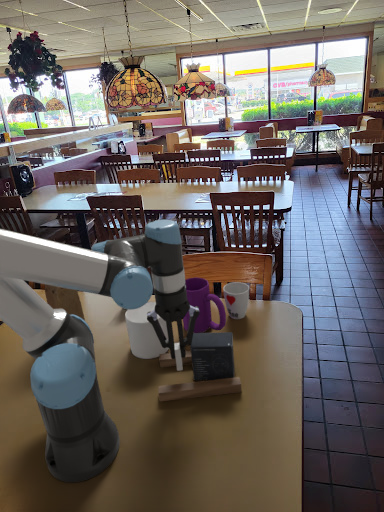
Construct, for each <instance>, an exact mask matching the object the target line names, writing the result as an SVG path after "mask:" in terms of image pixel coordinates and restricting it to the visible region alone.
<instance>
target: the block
mask: <svg viewBox="0 0 384 512" xmlns="http://www.w3.org/2000/svg"><path fill="white" fill-rule="evenodd" d="M44 294H45V295H44V296H45V299H46V303H48V304H49V305H50V306H51V307H52V308H53V309H64V310H65V311H66V312H67V313H68V314H69V315H72V314H73V315H76V316H78V317H80V318H82V319H83V320H84V321H85V322H86V319H85V315H84V310H83V305H82V302H81V298H80V296H79V291H78V290H73V289H68V288H62V287H57V286H52V285H47V284H44Z"/></svg>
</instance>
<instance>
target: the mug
mask: <svg viewBox="0 0 384 512" xmlns="http://www.w3.org/2000/svg"><path fill="white" fill-rule="evenodd" d="M185 285H186V292H187V300H188V302H189V303H190V305H191V306H193V307H195V306H198V307H199V313H200V314H199V316H198V317H197V319H196V322H195V327H194V333H206V331H208V330H209V329H212V330H214V331H221V330H222V329H224V328H225V326H226V322H227V315H226V309H225V305H224V303H223V301H222V300H221V298H220V297H219V296H218V295H216V294H213V293H210V284H209V280H208V279H206V278H203V277H191V278H189V277H188V278H185ZM211 301H212V302H213V303H214V304H215V306H216V307H217V310H218V315H219V323H216V322H215V321H214V320H213V319H212V310H211V309H212V308H211V307H212V306H211V305H212V304H211ZM189 319H190V314H189V311H188V312H187V314H186V315H185V317H184V318H183V319H182V325H183V330H185V331H187V330H188V325H189Z"/></svg>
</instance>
